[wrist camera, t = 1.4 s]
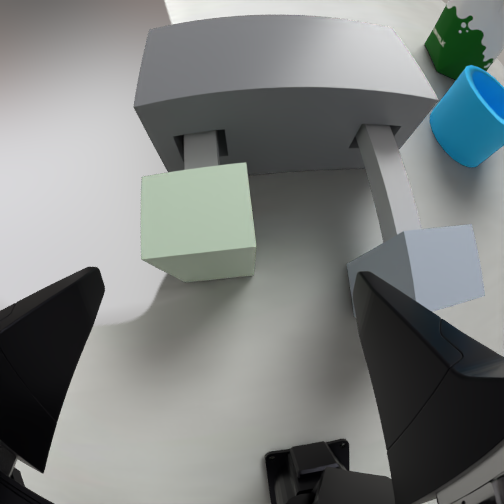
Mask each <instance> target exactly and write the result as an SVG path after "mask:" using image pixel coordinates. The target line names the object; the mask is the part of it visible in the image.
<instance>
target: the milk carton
mask: <svg viewBox="0 0 504 504" xmlns="http://www.w3.org/2000/svg"><path fill="white" fill-rule="evenodd" d="M425 46H426V48H427V50H428V52H429V54H430V57H431V59H432V61H433V63H434V66H435V68H436V70H437V72H439V73H441V74H444V75H446V76H448V77H450V78H452V79H454V80H457V78H458V77H459V76H460V74H461V73H462V72H463V70H464V69H465V68H466V66H470V65H473V66H476V67H479V68H481V69H483V70H484V71H487V69H488V68H489V67H490V65H491V64H492V63H493V62H494V60H495V59H496V58H497V56H498V55H499V54H500V53H501V51H502V50H503V49H504V0H449V1H448V2H447V4H446V6H445V8H444V10H443V12H442V14H441V16H440V18H439V20H438V21H437V23H436V25H435V27H434V29H433V30H432V32H431V34H430V36H429V37H428V39H427V41H426V42H425Z"/></svg>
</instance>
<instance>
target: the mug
mask: <svg viewBox="0 0 504 504" xmlns="http://www.w3.org/2000/svg"><path fill="white" fill-rule="evenodd" d="M430 125H431V128H432V132H433V133H434V135H435V137H436V139H437V141H438V143H439V144H440V145H441V147H442V148H443V149H444V151H445V152H446V153H447V154H448V155H450V156H451V157H452V158H453V159H454V160H455V161H457V162H458V163H460V164H461V165H464V166H467V167H477V166H478V165H479V164H481V163H482V162H483V161H484V160H486V159H487V158H488V157H490V156H491V155H492V154H493V153H495V152H496V151H497V150H498V149H500V148H501V147H502V146H503V145H504V87H503V86H502V85H501V84H500V83H499V82H498V81H497V80H496V79H495V78H494V77H493V76H491V75H490V74H489V73H487V72H486V71H484V70H483V69H481V68H479V67H476V66H473V65H470V66H466V68H465V69H464V70H463V72H462V73H461V74H460V76H459V77H458V78H457V80H456V81H455V82H454V84H453V85H452V86H451V88H450V89H449V90H448V92H447V93H446V94H445V95H444V97H443V98H442V99H441V101H440V102H439V103H438V104H437V106H436V107H435V108H434V109H433V111H432V113H431V114H430Z"/></svg>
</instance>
